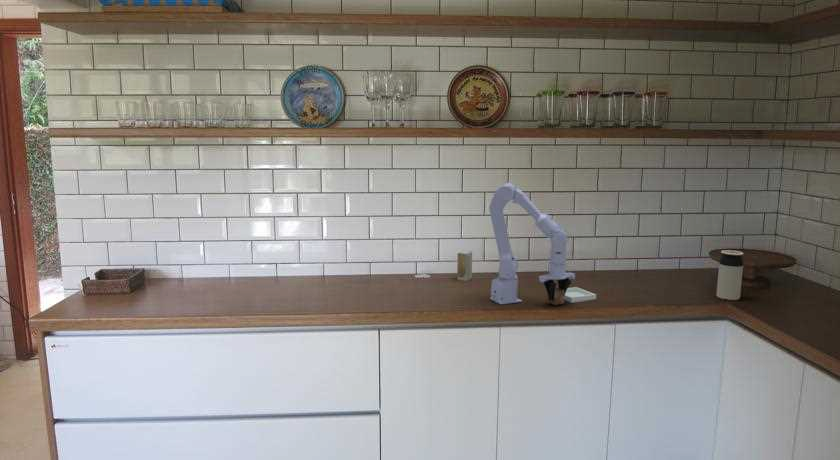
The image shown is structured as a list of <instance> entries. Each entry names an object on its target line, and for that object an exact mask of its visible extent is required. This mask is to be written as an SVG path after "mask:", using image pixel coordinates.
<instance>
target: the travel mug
mask: <svg viewBox="0 0 840 460" xmlns="http://www.w3.org/2000/svg"><path fill="white" fill-rule="evenodd" d="M720 253H721V257H720V258H719V263H718V274H717V284H716V297H718V298H719V299H722V300H725V299H727V300H726V301H738V300H740V298H741V292H742V281H743V280H742V279H743V270H744V262H745V261H744V260H743V256H744V252H742V251H738V250H731V249H726V250H721V252H720Z"/></svg>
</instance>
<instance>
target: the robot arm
mask: <svg viewBox="0 0 840 460" xmlns="http://www.w3.org/2000/svg"><path fill="white" fill-rule="evenodd" d="M510 201H512V202H511V203H512V204H516V205H520V206H521V208H523V209H524V210H525V211H526V212H527V213H528V214H529V215H530V217H532V218H533V219H534V220H535V226H536V228H538V229H539V231H540V232H541V233H542V234H544V236H545V237H546V238H548V239H549V242H550V243H551V244H550V245H551V249H550V253H549V255H550V256H549V270H548V271H549V273H547V274H543V275H539V276H538V281H539V282H540V283H543V285H544V287H545V290H546V292H547V293H546V294H547V298H549V300H554V291H555V288H557V286H558V288H559V289H562V290H564V296H565V293H566V290H567V288H570V285H571V283H572V280H574V279H576V273H573V272H566V267H567V266H566V265H567V243H568V234H567V233H566V232H565V231H566V230H564V229H563V228H562V226H561V225H558V224H557V223H556V222H555V221H554V220H553V216H552V215H548V213H547V214H546V213H542V212H541V211H540V210H539V208H537V206H536V205H535V204H534V203H533V202H532V200H531V199H529V198H528V196H527V194H525V193H524V192H523V191H522V190H521V189H520V188H517V186H516V185H515V184H514V183H512V182H505V183H503V184H501V185H500V186H499V187H498V188H497V189H496V190H495V191H494V193H493V196H492V198H491V202H490V204H489V207H488V210H489V215H490V219H491V224H492V228H493V233H494V238H495V242H496V247H497V251H498V262H499V267H498V276H497V277H496V278H494V279H492V281H491V285H490V287H491V288H490V297H489V299H490V300H491V301H493V302H495V303H497V304H499V305H507V304H514V303H521V302H523V300H522V299H519V298H518V292H519V291H518V289H519V288H518V287H519V286H518V285H519V284H518V283H519V282H518V281H519V277H518V275H517V273H516V272H517V271H518V269H519V263H518V262H517V260H516V259H515V257H514V253H513V250H512V248H511V242H510V238H509V233H508V232H509V231H508V228H507V224H506V219H505V214H504V208H505V207H506V206H507V204H508V203H509V202H510ZM555 281H557V283H556V282H555Z"/></svg>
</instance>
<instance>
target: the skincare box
mask: <svg viewBox="0 0 840 460" xmlns="http://www.w3.org/2000/svg"><path fill="white" fill-rule="evenodd" d="M456 279H457V281H463V282H467V281H469V280H471V279H473V251H472V250H461V251H458V252H457V278H456Z"/></svg>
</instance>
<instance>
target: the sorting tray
mask: <svg viewBox="0 0 840 460" xmlns="http://www.w3.org/2000/svg"><path fill="white" fill-rule="evenodd" d="M565 300H566V302H568V303H570V304H573V303H581V302H589V301H594V300H595V301H596V300H597V294H596V293H593V292H591V291H588V290H585V289H583V288H580V287H578V286H576V287H575V286H573V287H568V288H567V290H566V293H565V296H564V301H565Z"/></svg>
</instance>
